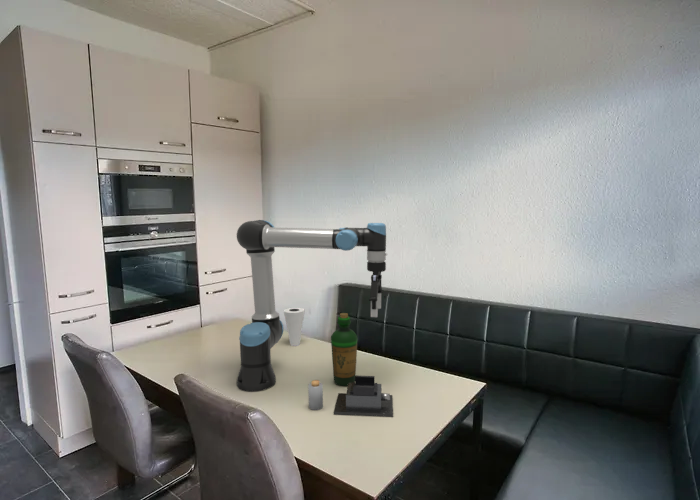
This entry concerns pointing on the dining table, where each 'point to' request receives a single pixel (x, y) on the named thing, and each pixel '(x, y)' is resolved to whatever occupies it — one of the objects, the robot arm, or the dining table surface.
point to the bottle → (344, 352)
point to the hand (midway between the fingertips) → (376, 312)
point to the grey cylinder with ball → (315, 395)
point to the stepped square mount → (364, 399)
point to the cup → (294, 324)
